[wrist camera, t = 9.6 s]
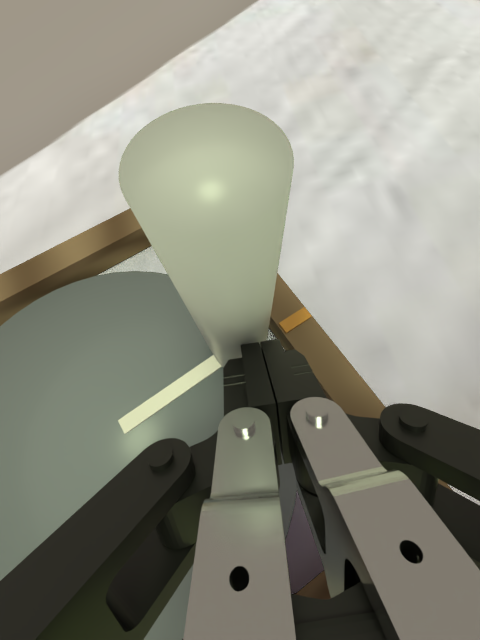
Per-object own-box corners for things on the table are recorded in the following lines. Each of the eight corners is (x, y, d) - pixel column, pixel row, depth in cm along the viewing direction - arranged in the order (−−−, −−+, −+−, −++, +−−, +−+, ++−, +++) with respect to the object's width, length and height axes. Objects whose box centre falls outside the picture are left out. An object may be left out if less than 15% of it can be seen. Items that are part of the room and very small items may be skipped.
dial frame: (202, 195, 22) (197, 171, 20) (458, 522, 14) (493, 538, 12) (-138, 372, 18) (-187, 365, 16) (-61, 978, 10) (-142, 1119, 8)
